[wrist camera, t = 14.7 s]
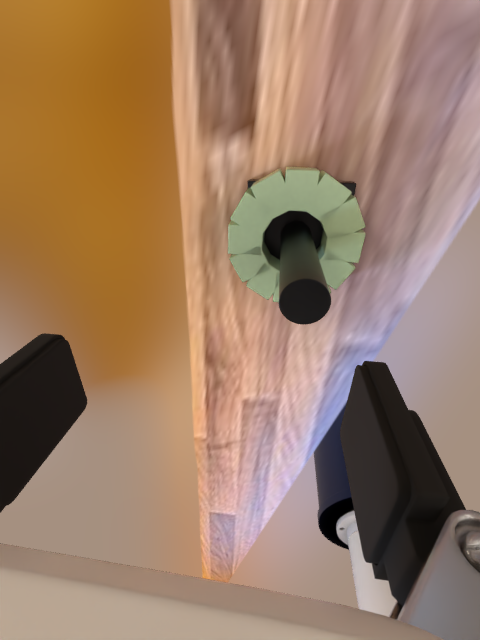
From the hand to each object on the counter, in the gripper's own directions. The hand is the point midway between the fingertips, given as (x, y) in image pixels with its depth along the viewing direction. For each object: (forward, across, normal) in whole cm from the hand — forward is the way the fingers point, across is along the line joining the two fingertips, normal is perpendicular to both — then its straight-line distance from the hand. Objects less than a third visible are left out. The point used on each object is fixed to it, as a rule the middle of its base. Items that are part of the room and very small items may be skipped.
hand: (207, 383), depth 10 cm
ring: (+18, -3, -1) cm, 18 cm away
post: (+19, -3, -1) cm, 19 cm away
